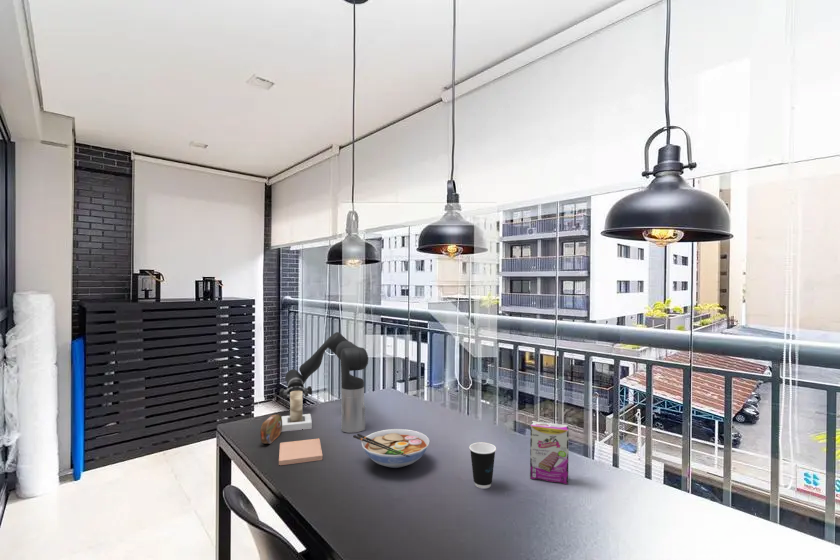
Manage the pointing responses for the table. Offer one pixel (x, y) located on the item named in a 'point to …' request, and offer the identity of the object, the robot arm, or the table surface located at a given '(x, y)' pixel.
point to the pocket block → (296, 423)
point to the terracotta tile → (300, 451)
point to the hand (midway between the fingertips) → (296, 395)
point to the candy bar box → (549, 452)
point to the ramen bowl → (394, 446)
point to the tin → (271, 429)
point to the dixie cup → (482, 463)
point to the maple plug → (295, 406)
